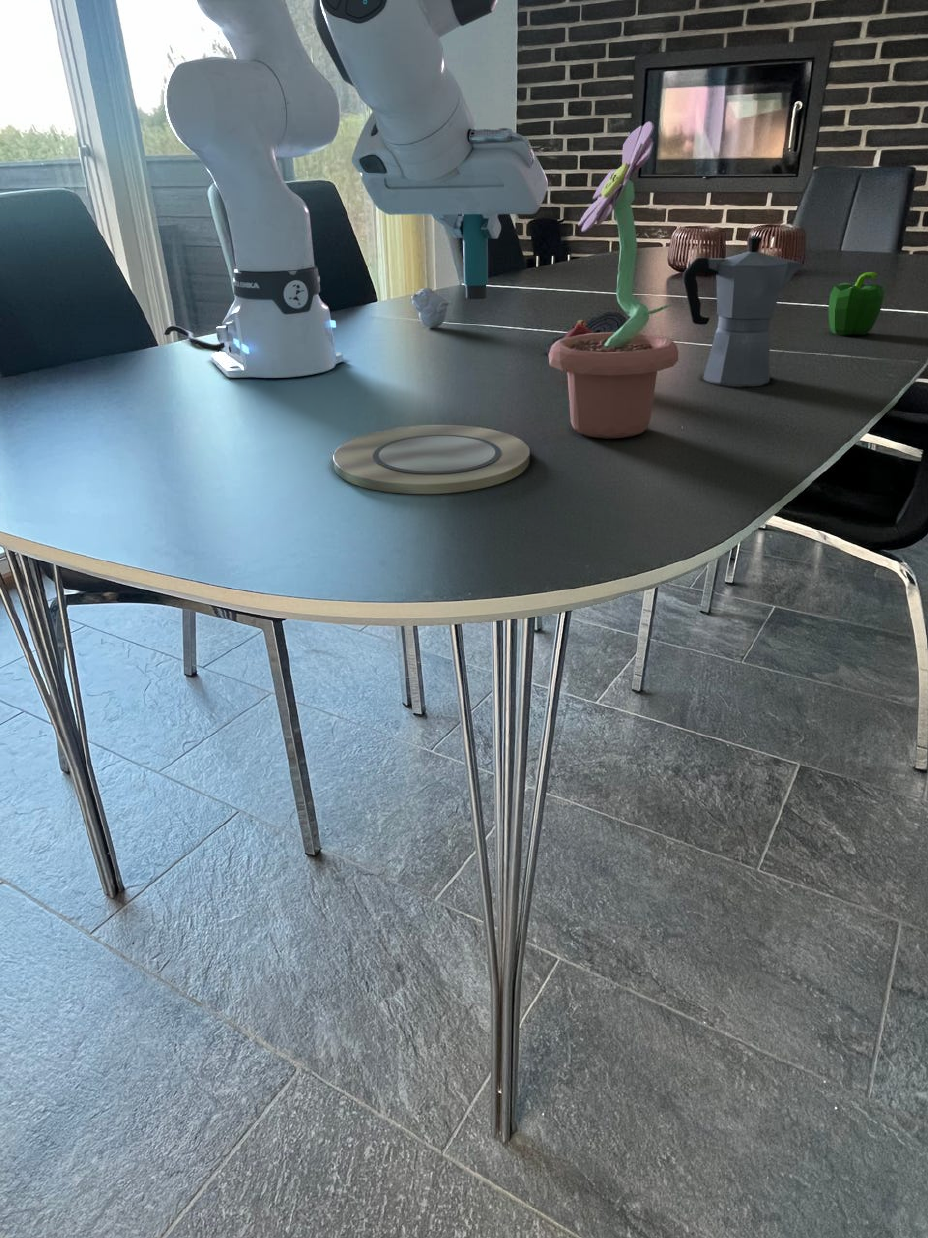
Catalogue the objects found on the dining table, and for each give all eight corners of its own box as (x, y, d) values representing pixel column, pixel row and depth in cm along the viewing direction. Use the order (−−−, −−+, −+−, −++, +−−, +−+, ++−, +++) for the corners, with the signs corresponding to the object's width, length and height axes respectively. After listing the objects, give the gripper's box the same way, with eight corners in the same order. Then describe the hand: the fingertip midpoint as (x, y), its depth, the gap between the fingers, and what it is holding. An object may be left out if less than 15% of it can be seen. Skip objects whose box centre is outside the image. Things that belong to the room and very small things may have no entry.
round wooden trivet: (300, 456, 88) (298, 446, 87) (454, 423, 98) (454, 414, 97) (401, 510, 74) (400, 498, 73) (570, 465, 84) (570, 454, 83)
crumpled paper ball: (411, 325, 159) (410, 286, 156) (448, 324, 160) (447, 285, 156) (413, 331, 154) (411, 290, 150) (451, 329, 154) (450, 289, 151)
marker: (459, 297, 99) (456, 178, 93) (478, 295, 100) (476, 178, 95) (473, 300, 97) (471, 178, 91) (492, 297, 98) (491, 177, 93)
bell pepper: (811, 332, 145) (822, 270, 140) (846, 328, 148) (858, 267, 143) (849, 340, 139) (862, 275, 134) (885, 335, 142) (899, 271, 137)
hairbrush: (527, 335, 132) (593, 305, 150) (527, 358, 134) (592, 326, 152) (575, 339, 128) (637, 308, 146) (574, 364, 130) (635, 330, 148)
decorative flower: (542, 412, 102) (550, 126, 87) (657, 411, 101) (683, 123, 87) (550, 449, 88) (560, 119, 74) (681, 447, 88) (717, 116, 74)
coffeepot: (771, 370, 119) (792, 232, 111) (796, 386, 111) (822, 237, 102) (664, 373, 119) (677, 235, 110) (681, 389, 111) (697, 240, 102)
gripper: (533, 102, 80) (569, 210, 92) (359, 113, 89) (412, 211, 101) (513, 155, 79) (552, 258, 91) (337, 161, 88) (394, 254, 100)
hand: (477, 233), depth 96 cm, fingers closed on marker, 3 cm apart
